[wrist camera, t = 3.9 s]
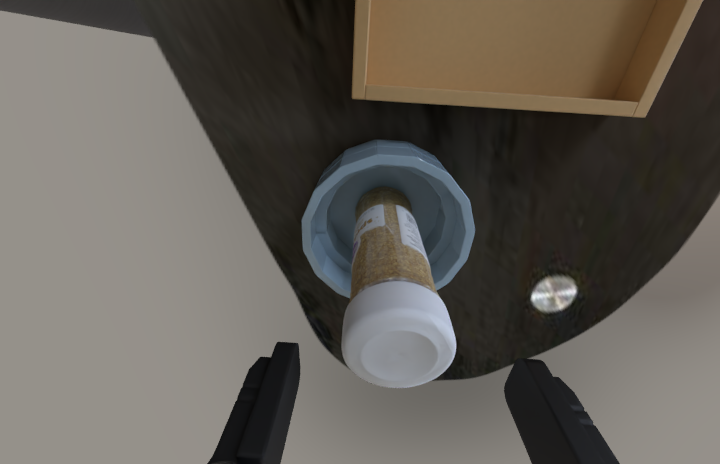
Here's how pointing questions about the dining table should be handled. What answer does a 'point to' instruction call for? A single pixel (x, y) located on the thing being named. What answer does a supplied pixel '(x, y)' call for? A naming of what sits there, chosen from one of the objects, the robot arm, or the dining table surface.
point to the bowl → (399, 171)
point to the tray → (519, 52)
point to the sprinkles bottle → (393, 299)
